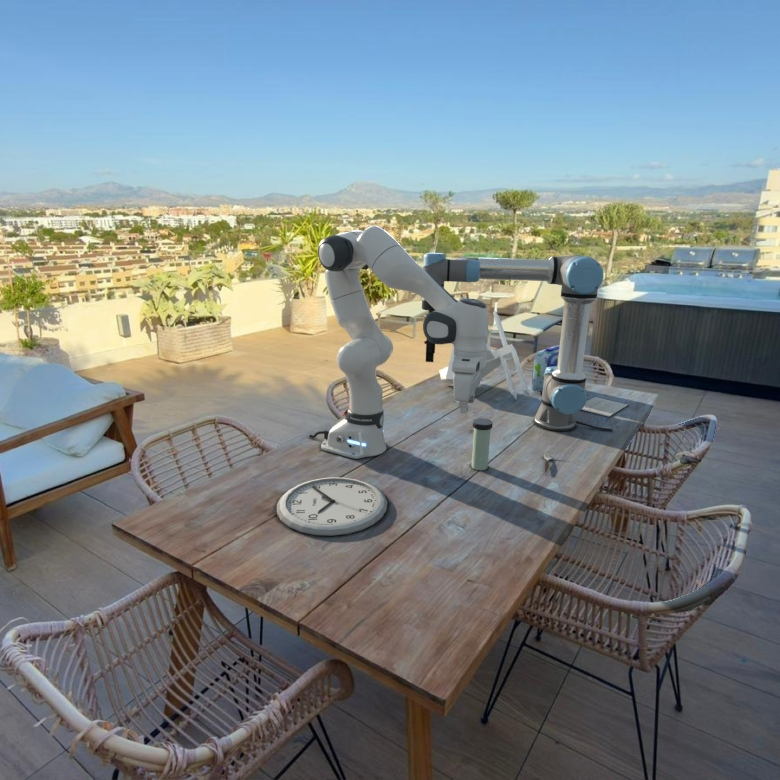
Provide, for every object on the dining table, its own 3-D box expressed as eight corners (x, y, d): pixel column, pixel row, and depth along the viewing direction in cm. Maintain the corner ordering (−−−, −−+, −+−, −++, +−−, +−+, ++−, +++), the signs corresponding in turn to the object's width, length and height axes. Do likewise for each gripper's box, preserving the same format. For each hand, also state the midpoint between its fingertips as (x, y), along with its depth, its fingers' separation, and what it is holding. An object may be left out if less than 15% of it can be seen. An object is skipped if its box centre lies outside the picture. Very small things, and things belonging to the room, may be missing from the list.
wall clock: (392, 527, 129) (268, 531, 127) (391, 533, 130) (269, 537, 127) (383, 473, 158) (282, 475, 155) (383, 478, 158) (282, 480, 156)
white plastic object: (461, 429, 252) (437, 405, 227) (444, 352, 274) (420, 323, 250) (535, 404, 240) (518, 377, 215) (510, 326, 262) (492, 293, 237)
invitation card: (608, 416, 214) (573, 407, 224) (608, 416, 214) (573, 408, 224) (628, 404, 229) (594, 396, 238) (628, 405, 229) (594, 397, 238)
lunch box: (548, 398, 236) (553, 353, 229) (527, 393, 243) (531, 349, 237) (575, 387, 253) (581, 344, 247) (555, 382, 260) (560, 341, 254)
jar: (482, 462, 171) (485, 419, 166) (490, 469, 166) (494, 424, 162) (468, 464, 169) (471, 421, 164) (476, 471, 164) (479, 426, 160)
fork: (540, 473, 163) (541, 467, 163) (544, 453, 178) (545, 448, 177) (549, 474, 162) (550, 468, 162) (552, 454, 177) (553, 449, 176)
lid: (485, 422, 167) (486, 417, 167) (496, 429, 162) (496, 423, 161) (469, 424, 165) (469, 419, 164) (478, 431, 160) (479, 426, 159)
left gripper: (466, 350, 153) (463, 395, 157) (450, 367, 134) (448, 417, 138) (487, 352, 151) (484, 397, 155) (474, 369, 132) (471, 420, 136)
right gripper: (424, 293, 195) (422, 349, 202) (419, 302, 172) (417, 365, 178) (444, 294, 195) (441, 350, 201) (442, 303, 171) (439, 366, 177)
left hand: (467, 407), depth 147 cm, fingers open, 8 cm apart
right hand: (430, 357), depth 190 cm, fingers open, 13 cm apart
